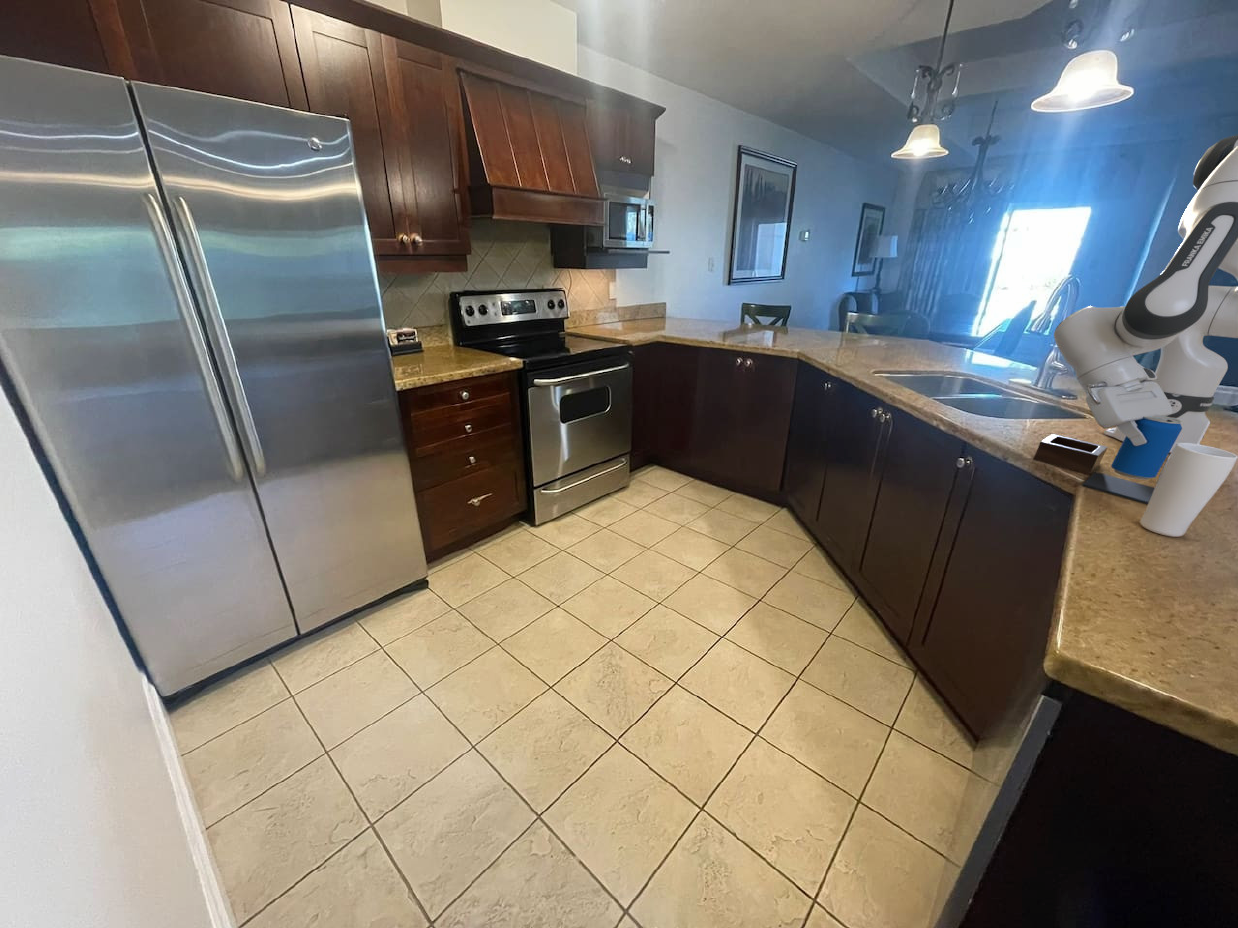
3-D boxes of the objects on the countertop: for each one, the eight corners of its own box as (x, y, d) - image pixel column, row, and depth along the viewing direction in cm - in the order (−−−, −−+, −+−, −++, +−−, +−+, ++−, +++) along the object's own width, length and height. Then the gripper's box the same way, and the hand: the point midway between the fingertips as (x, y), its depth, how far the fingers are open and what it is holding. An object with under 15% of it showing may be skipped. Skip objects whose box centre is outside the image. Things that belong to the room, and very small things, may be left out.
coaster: (1093, 473, 104) (1094, 471, 104) (1165, 492, 96) (1166, 490, 96) (1082, 485, 98) (1083, 483, 97) (1157, 507, 90) (1159, 505, 90)
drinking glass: (1124, 523, 83) (1167, 444, 77) (1143, 517, 86) (1186, 440, 80) (1177, 543, 77) (1228, 460, 71) (1196, 536, 80) (1247, 455, 74)
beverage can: (1163, 483, 92) (1195, 425, 87) (1125, 479, 93) (1155, 421, 88) (1136, 470, 98) (1166, 414, 93) (1101, 466, 99) (1128, 411, 94)
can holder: (1044, 450, 116) (1052, 433, 114) (1099, 464, 109) (1107, 446, 107) (1032, 459, 111) (1040, 441, 109) (1089, 474, 103) (1098, 455, 102)
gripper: (1103, 375, 90) (1146, 440, 85) (1157, 370, 97) (1199, 430, 93) (1066, 392, 95) (1104, 454, 91) (1120, 386, 103) (1157, 443, 99)
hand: (1153, 442), depth 92 cm, fingers closed on beverage can, 6 cm apart
